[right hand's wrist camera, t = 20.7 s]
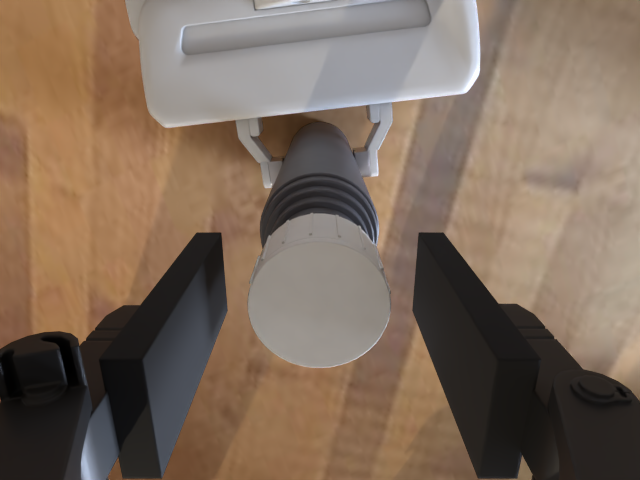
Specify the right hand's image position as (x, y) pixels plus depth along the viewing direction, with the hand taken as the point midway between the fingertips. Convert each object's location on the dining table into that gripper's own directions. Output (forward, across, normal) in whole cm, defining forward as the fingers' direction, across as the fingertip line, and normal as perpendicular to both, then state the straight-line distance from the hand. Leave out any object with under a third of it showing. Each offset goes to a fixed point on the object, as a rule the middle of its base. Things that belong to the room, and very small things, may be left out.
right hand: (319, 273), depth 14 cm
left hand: (+17, 0, -1) cm, 17 cm away
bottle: (+23, 0, 0) cm, 23 cm away
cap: (-2, 0, 0) cm, 2 cm away
